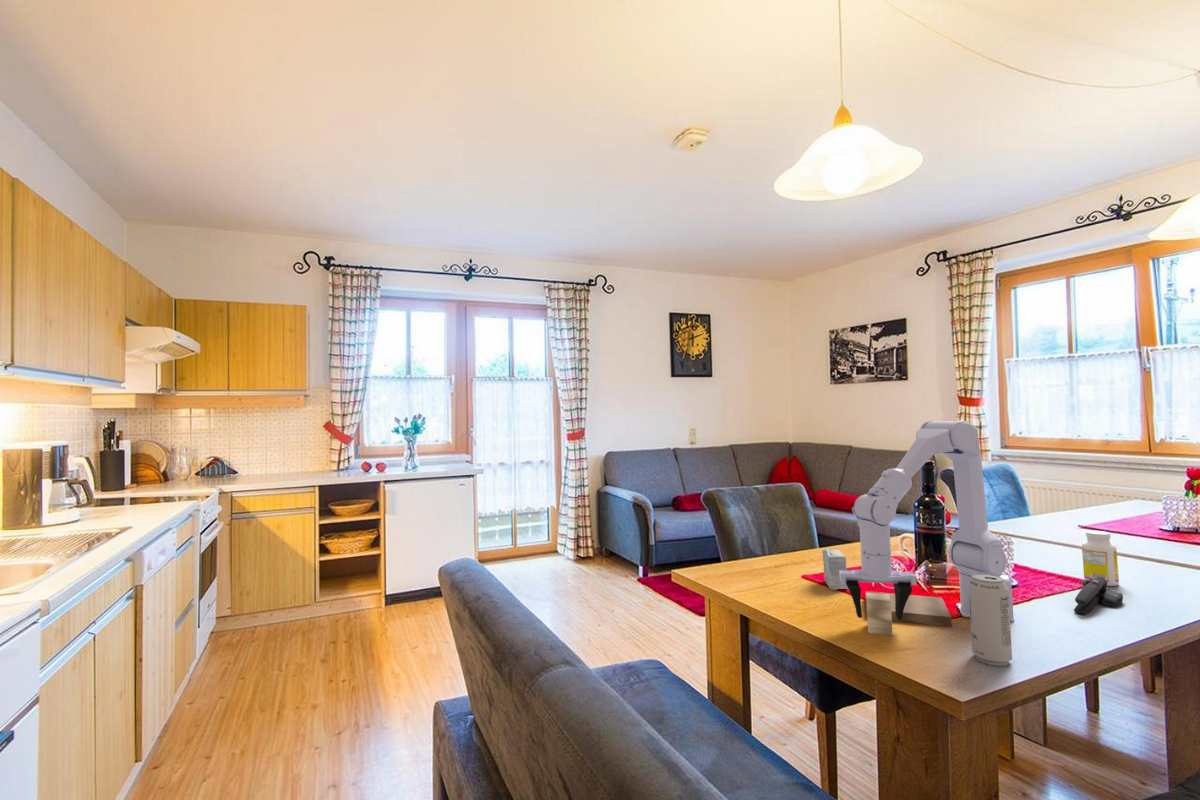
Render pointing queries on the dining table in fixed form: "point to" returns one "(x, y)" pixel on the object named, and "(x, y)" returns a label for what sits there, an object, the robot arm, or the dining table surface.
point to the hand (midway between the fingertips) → (878, 617)
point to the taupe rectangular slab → (922, 610)
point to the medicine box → (834, 568)
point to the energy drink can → (990, 619)
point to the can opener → (1096, 596)
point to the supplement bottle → (1100, 557)
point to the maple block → (879, 613)
